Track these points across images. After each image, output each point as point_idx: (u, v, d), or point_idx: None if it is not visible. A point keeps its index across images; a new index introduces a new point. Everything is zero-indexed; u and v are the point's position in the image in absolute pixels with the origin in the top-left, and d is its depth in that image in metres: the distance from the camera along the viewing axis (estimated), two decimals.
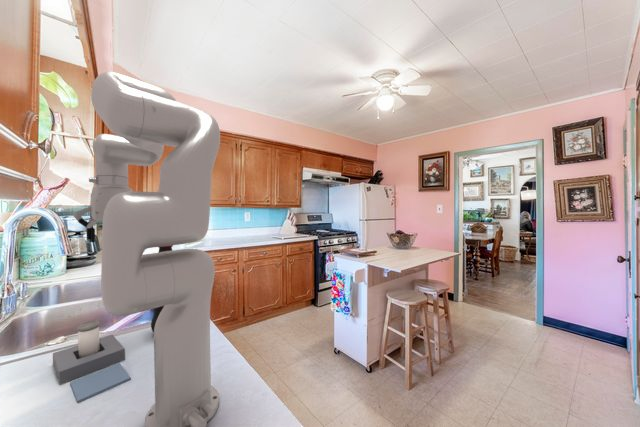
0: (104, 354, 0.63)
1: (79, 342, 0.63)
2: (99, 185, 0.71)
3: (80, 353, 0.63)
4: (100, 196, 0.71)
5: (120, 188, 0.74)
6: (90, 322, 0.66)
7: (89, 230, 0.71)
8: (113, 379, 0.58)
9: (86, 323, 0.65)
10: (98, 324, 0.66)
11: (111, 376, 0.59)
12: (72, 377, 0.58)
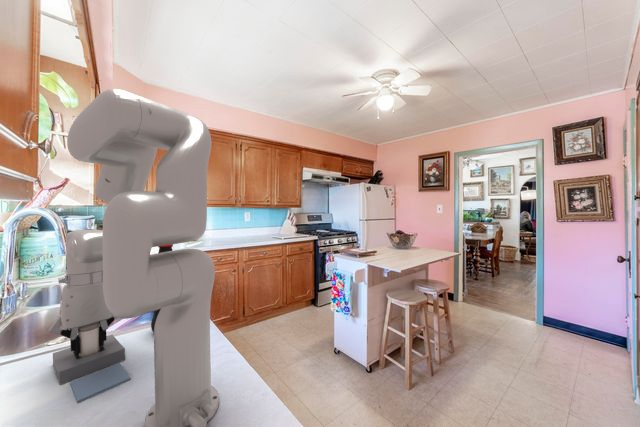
0: (104, 354, 0.63)
1: None
2: (70, 286, 0.61)
3: (80, 353, 0.63)
4: (71, 300, 0.61)
5: (96, 285, 0.64)
6: None
7: (73, 341, 0.62)
8: (113, 379, 0.58)
9: None
10: (98, 324, 0.66)
11: (111, 376, 0.59)
12: (72, 377, 0.58)
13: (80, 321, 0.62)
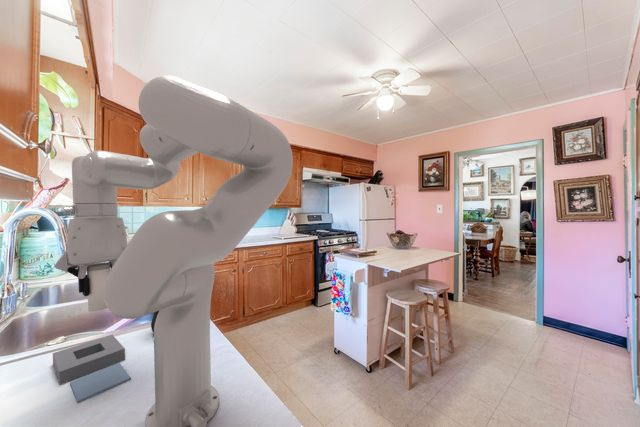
0: (104, 354, 0.63)
1: None
2: (78, 217, 0.54)
3: (89, 295, 0.56)
4: (79, 231, 0.53)
5: (106, 219, 0.57)
6: (100, 263, 0.59)
7: (81, 281, 0.55)
8: (113, 379, 0.58)
9: (96, 264, 0.58)
10: (109, 265, 0.58)
11: (111, 376, 0.59)
12: (72, 377, 0.58)
13: (89, 257, 0.54)
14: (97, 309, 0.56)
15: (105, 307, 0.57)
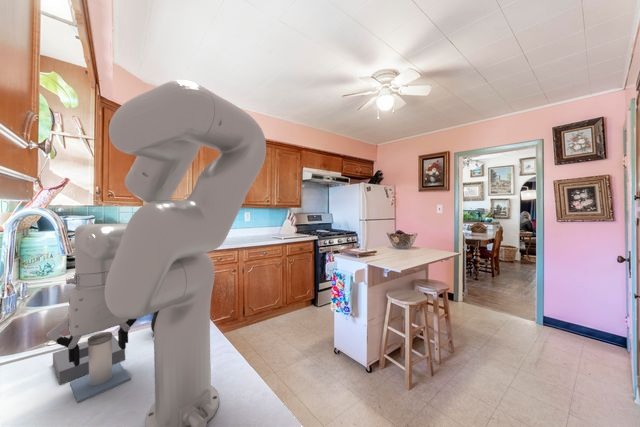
0: None
1: (90, 357, 0.56)
2: (80, 287, 0.54)
3: (90, 369, 0.56)
4: (81, 303, 0.53)
5: None
6: (102, 333, 0.59)
7: (72, 350, 0.53)
8: (113, 379, 0.58)
9: (97, 335, 0.58)
10: (111, 336, 0.58)
11: None
12: (72, 377, 0.58)
13: (91, 327, 0.54)
14: (98, 383, 0.56)
15: (106, 380, 0.57)
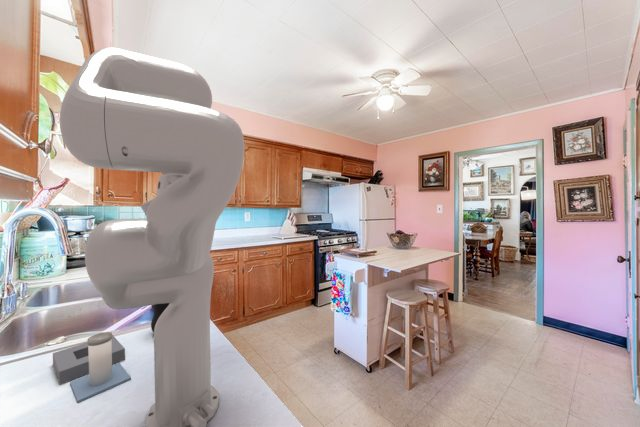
0: None
1: (89, 357, 0.56)
2: (168, 173, 0.63)
3: (90, 370, 0.56)
4: None
5: None
6: (101, 334, 0.59)
7: None
8: (113, 379, 0.58)
9: (97, 335, 0.58)
10: (110, 336, 0.58)
11: None
12: (72, 377, 0.58)
13: None
14: (98, 383, 0.56)
15: (106, 380, 0.57)
